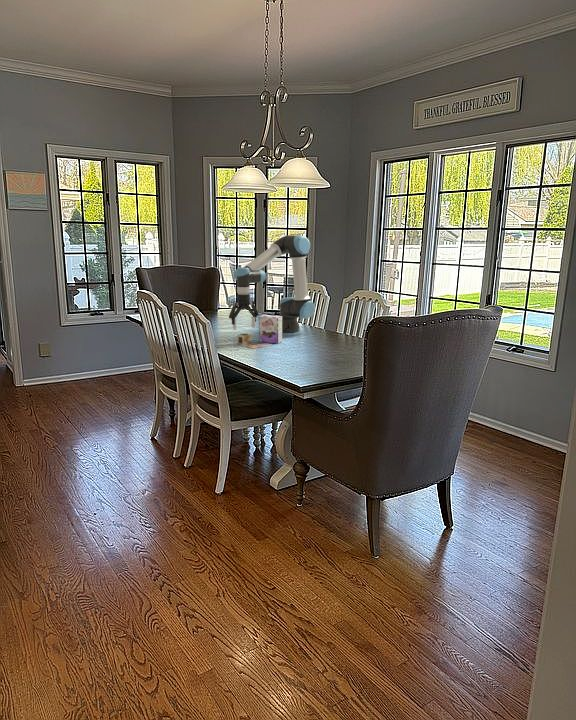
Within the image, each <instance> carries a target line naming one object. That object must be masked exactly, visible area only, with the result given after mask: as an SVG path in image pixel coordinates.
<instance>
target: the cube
mask: <svg viewBox="0 0 576 720" xmlns="http://www.w3.org/2000/svg"><path fill="white" fill-rule="evenodd" d="M252 341H253V339H252V334H251V333H241V334H240V333H239V334H237V344H238V345H239V344H240V346H243V347H244V345H245V346H250V344H251V345H253V343H252Z"/></svg>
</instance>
